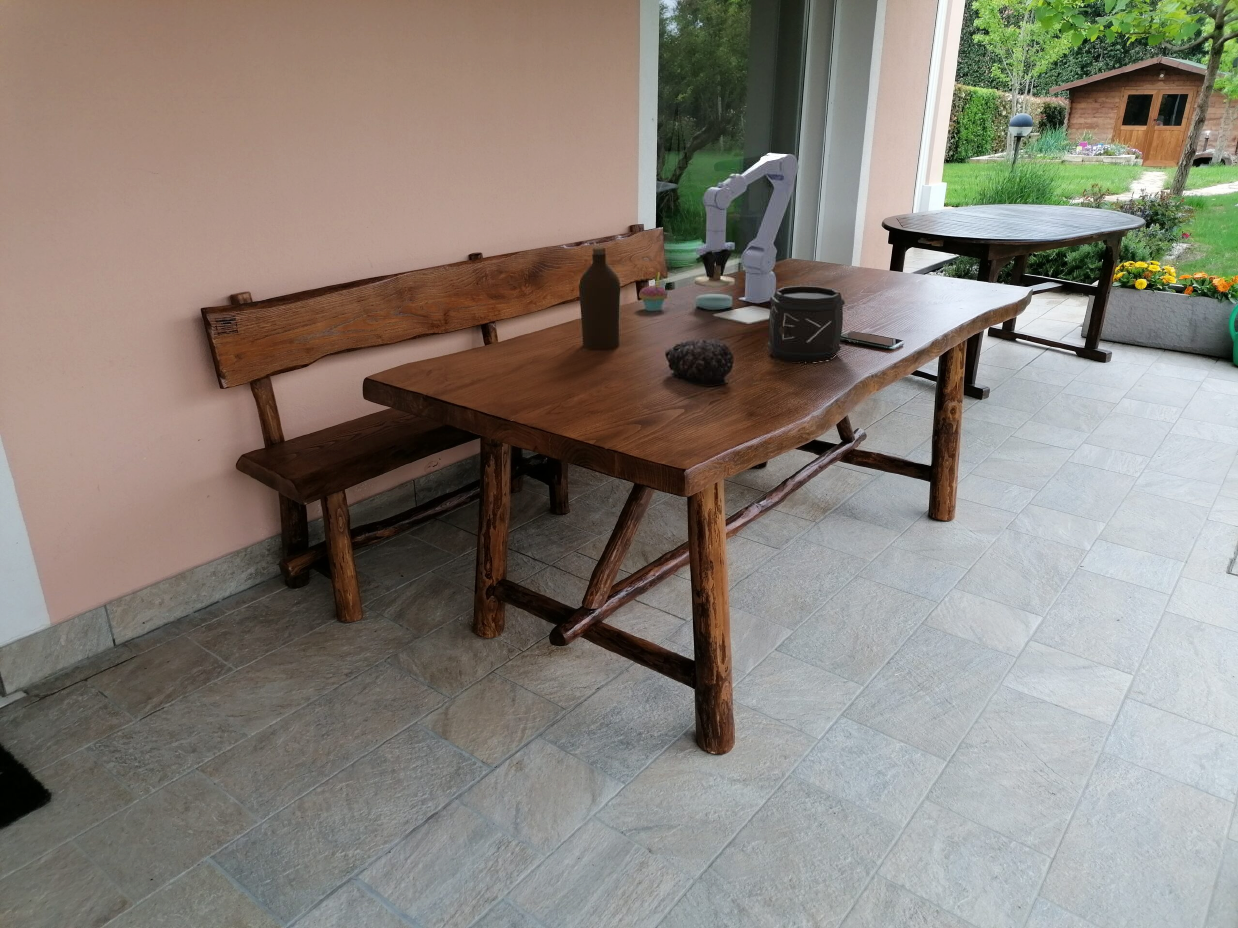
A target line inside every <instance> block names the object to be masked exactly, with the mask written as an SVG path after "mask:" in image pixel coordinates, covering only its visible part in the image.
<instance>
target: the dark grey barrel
mask: <svg viewBox="0 0 1238 928" xmlns="http://www.w3.org/2000/svg"><path fill="white" fill-rule="evenodd" d="M841 294H842V293H841V292H839V291H838V290H836V289H834V288H829V287H825V286H818V285H817V286H816V285H794V286H793V285H792V286H785V287H784V286H783V287H780V288H778V289H776V290H775V294H774V296H772V297H770V300H769V301H768V302H769V303H771V305H770V315H769V319H768V337H769V338H768V340H769V341H768V342H767V343H766V344H767V348H768V349H769V350H770V353H771V355H772V354H773V355H772V356H773V358H774V359H776V358H777V359H776V360H779V359H780V361H783V360H784V361H783V362H786V361H787V363H790V362H796V363H795V364H798V363H797V362H800V363H799V364H805V362H806V363H813V362H819V361H826V360H830V359H831V358H833V357H834V356H835V355H836V356H837V353H838V352H840V351H841V349H842V347H841V345H840V343H841V337H842V334H843V333H842V331H843V320H844V317H843V316H844V312H843V306H844V305H845V304H846V302H845V299H843V298H842V295H841ZM833 359H834V358H833ZM830 361H831V360H830Z"/></svg>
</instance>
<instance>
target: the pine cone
mask: <svg viewBox="0 0 1238 928" xmlns="http://www.w3.org/2000/svg"><path fill="white" fill-rule="evenodd" d="M665 358H666V361H667V362H668V368H669V370H671V371H672V372H671V373H670V374H671V375H670V376H671V377H672V378H674V379H676V380H678V381H682V382H685V383H689V384H690V383H691V384H694V385H699V386H705V387H713V386H721V385H724V384H727V383H729V380H728V379H726V377H727V376H728V374H730V373H731V371H732V369H733V367H734V354H733V353H732V351H731V348H730V347H729V346H728V345H727V344H726V343H724V342H722V340H720V339H714V338H709V337H708V338H705V339H703V338H702V339H691V340H687V341H685V342H684V341H683V342H679V343H675V345H674V346H673V347H672V348H669V349H667V350H666V351H665Z"/></svg>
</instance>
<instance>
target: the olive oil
mask: <svg viewBox="0 0 1238 928" xmlns="http://www.w3.org/2000/svg"><path fill="white" fill-rule="evenodd" d="M591 255H592V257H591V259H592V263H591V265H590V266H589V267H588V268H587V269H586V271H585V272H584V273H583V274H582V276H581V277H580V279H579V280H580V281H579V285H578V293H579V294H578V297H579V305H580V307H579V308H580V318H581V319H580V320H581V334H582V335H581V336H582V346H583V347H584V348H585V349H587V350H593V351H607V350H613V349H616V348H618V347H619V345H620V318H621V317H620V316H621V315H620V314H621V313H620V312H621V289H622V288H621V287H622V286H621V282H620V279H619V277H618V276H617V274H616V273H615V272H614V271H613V269H612V268H611V267H610V266H609V265H608V264H607V254H606V248H605V247H603V246H602V247H601V246H600V247H593V248H592V254H591Z"/></svg>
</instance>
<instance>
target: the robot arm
mask: <svg viewBox="0 0 1238 928" xmlns="http://www.w3.org/2000/svg"><path fill="white" fill-rule="evenodd" d="M799 169H800V165H799V162H798V160H797V157H796V156H795V155H793V154H791V153H789V154H785V153H774V152H769V153H766V154H765V155H764V156H761V157H760V160H758V161H757V162H756V163H754V164H753V165H752V166H751V167H749V168H748V169H747V170H745V171H744V172H743V173H742V174H740V173H731V174H730V175H729V178H727V179H726V180H724V181H722V182H718V183H717V186H716V187H715V186H714V187H713V186H712V187H709V188H708V189H706V190H705V192H704V195H703V196H702V203H703V205H704V207H705V212H706V233H705V234H706V235H705V243H704V244H703V245H702V246H698V247H696V248H695V255H698V256H699V258H700V259H701V261H702V264H703V266H704V270H705V274H706V275H705V276H707V277H709V278H713V276H714V267H715V265H720V266H721V276H724V273H725V268H726V266H727V262H728V261H729V259H730V257H731V256H732V252H731V251H730V250H732V251H734V250H735V245H736V244H735V242H729V241H728V242H726V235H727V234H726V230H727V209H728V207H729V206H730V205H731V202H732V201H733V200H734V199H735V198H737V197H739V196H740V195H742V194H743V193H744V192H746V191H747V188H748V185H750V184H751V183H754V182H755V181H756V180H759V179H760V178H762V177H764V176H766V177H767V179H768V180H769V182H770V183H771V184H772V186H773V188H774V189H773V192H772V194H771V197H770V199H769V201H768V206H767V207H766V211H765V213H764V216H763V218H762V222H761V225H760V227H759V229H758V233H757V235H756V238H754V239H752V240H751V241H750V242H749V243H748V245H747V247H746V249H745V250H744V251H743V252H742V254H741V259H740V261H741V265H742V267H743V268H744V271H745V285H744V286H745V290H744V291H745V292H744V297H738V300H739V301H743V302H748V303H754V304H760V303H767V302H770V301H769V300H770V297H772V296H774V294H775V291H776V290H777V289H776V286H777V277H776V274H775V273H774V271H773V269H774V268H775V265H776V256H777V252H778V250H777V248H776V246H775V244H774V242H775V241H776V237H777V234H778V231H779V230H780V226H781V223H782V220H783V218H784V215H785V213H786V210H787V207H788V204H789V201H790V199H791V197H792V194H793V191H794V187H795V180H796V177H797V173H798V171H799Z"/></svg>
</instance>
